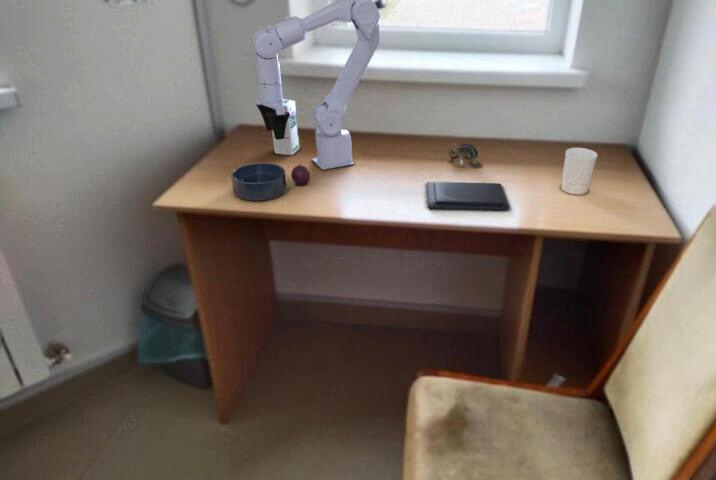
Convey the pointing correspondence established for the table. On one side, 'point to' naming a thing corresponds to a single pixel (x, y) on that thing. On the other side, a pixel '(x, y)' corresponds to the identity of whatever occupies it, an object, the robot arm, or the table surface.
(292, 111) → the syrup box
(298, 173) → the plum
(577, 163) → the white cup
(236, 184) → the bowl
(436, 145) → the table surface
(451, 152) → the chipmunk toy
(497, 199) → the wallet
